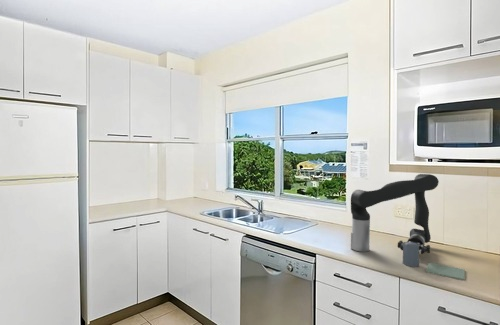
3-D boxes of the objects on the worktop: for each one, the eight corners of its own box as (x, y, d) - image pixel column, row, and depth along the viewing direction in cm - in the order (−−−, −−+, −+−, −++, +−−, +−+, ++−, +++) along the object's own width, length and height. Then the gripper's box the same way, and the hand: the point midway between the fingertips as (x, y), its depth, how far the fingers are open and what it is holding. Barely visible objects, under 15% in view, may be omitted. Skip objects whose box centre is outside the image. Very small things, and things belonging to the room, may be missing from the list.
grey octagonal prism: (402, 264, 140) (402, 244, 140) (404, 260, 145) (404, 241, 145) (417, 268, 136) (417, 246, 136) (419, 263, 141) (419, 243, 141)
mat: (426, 272, 131) (426, 270, 131) (428, 263, 142) (428, 262, 142) (464, 280, 123) (464, 279, 123) (464, 270, 134) (464, 269, 133)
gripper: (401, 233, 160) (396, 240, 147) (431, 237, 152) (429, 245, 139) (401, 246, 160) (395, 254, 147) (431, 252, 152) (428, 261, 139)
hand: (411, 250), depth 143 cm, fingers open, 8 cm apart
